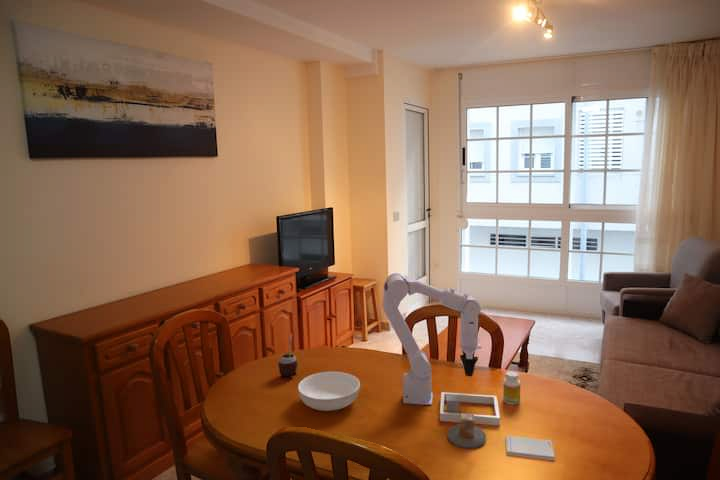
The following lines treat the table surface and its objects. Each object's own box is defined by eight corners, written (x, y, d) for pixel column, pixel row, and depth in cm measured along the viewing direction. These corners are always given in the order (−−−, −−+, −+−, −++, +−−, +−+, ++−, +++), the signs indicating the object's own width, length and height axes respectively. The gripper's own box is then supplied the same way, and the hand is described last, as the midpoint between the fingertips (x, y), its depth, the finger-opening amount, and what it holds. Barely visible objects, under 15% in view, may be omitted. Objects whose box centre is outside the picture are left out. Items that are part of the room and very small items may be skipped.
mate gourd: (283, 382, 182) (281, 343, 179) (275, 374, 189) (273, 337, 186) (301, 377, 186) (299, 339, 183) (293, 369, 192) (291, 333, 190)
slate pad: (446, 446, 139) (446, 443, 139) (447, 425, 150) (447, 422, 149) (486, 450, 137) (486, 446, 137) (484, 428, 147) (484, 425, 147)
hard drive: (551, 440, 139) (505, 434, 142) (555, 457, 131) (506, 450, 134) (551, 445, 139) (505, 439, 142) (554, 462, 132) (506, 456, 135)
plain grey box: (446, 416, 155) (446, 400, 154) (446, 410, 159) (446, 394, 158) (459, 417, 154) (459, 401, 153) (459, 411, 158) (459, 395, 157)
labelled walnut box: (459, 437, 142) (459, 419, 141) (459, 430, 145) (459, 412, 144) (473, 438, 141) (473, 420, 140) (473, 431, 145) (473, 413, 144)
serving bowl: (373, 401, 166) (372, 382, 165) (328, 426, 151) (327, 406, 150) (330, 383, 180) (330, 365, 179) (286, 405, 165) (284, 386, 164)
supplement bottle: (520, 405, 160) (521, 377, 159) (503, 404, 161) (504, 376, 160) (519, 397, 165) (519, 370, 164) (502, 396, 167) (503, 369, 165)
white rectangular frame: (439, 420, 153) (439, 413, 152) (441, 399, 166) (441, 392, 166) (499, 425, 149) (499, 417, 149) (496, 402, 162) (496, 395, 162)
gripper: (482, 341, 155) (481, 381, 158) (480, 325, 169) (480, 362, 172) (459, 340, 157) (459, 379, 159) (459, 324, 171) (459, 361, 173)
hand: (468, 370), depth 166 cm, fingers open, 7 cm apart
